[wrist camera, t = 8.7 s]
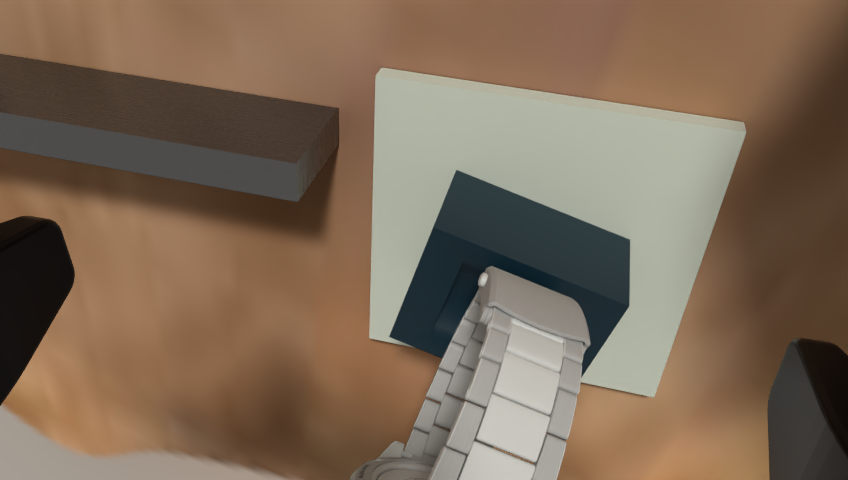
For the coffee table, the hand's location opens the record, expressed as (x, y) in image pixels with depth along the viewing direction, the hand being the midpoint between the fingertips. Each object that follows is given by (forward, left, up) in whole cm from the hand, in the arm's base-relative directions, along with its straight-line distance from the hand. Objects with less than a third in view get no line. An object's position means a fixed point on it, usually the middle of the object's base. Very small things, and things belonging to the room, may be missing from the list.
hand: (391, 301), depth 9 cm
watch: (-1, +8, -12) cm, 15 cm away
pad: (-1, +8, -13) cm, 15 cm away
